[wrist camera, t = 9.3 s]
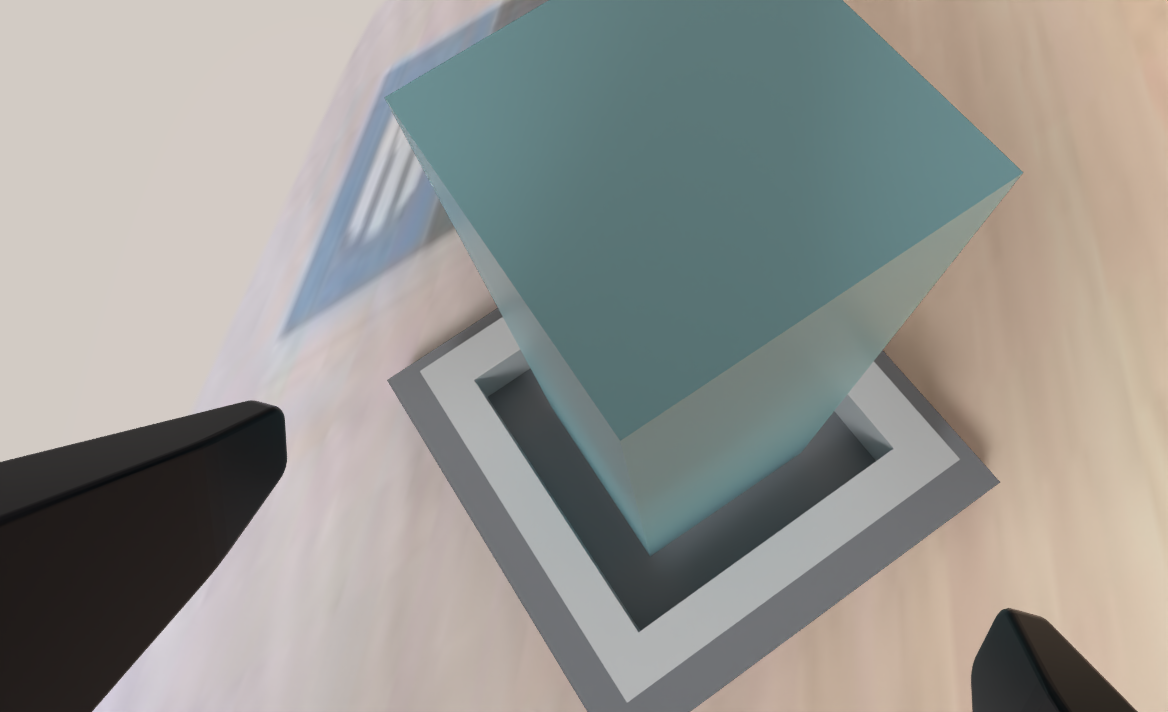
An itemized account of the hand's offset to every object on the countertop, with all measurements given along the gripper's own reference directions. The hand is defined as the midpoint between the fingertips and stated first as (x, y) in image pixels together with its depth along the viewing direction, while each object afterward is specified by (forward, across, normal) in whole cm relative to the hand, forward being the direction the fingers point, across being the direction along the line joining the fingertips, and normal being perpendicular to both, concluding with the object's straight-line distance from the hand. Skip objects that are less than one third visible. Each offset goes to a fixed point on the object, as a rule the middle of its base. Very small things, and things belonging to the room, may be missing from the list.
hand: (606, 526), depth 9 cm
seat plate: (+10, 0, +5) cm, 11 cm away
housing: (+9, 0, +4) cm, 10 cm away
